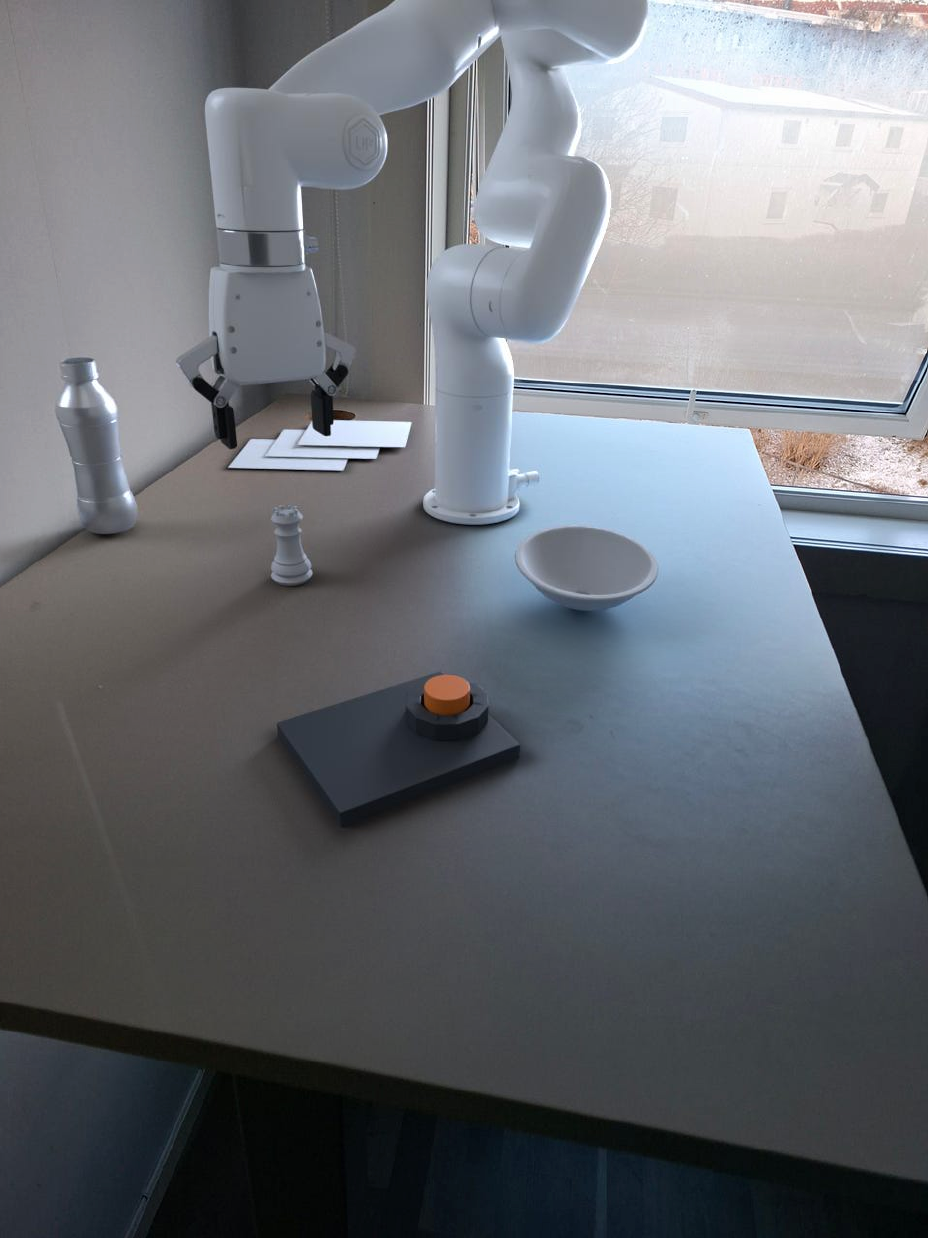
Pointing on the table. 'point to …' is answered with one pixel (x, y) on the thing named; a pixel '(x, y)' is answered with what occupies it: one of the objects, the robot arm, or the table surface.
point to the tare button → (446, 695)
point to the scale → (392, 748)
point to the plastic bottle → (94, 449)
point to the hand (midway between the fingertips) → (276, 438)
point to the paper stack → (323, 446)
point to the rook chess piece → (289, 549)
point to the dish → (586, 566)
